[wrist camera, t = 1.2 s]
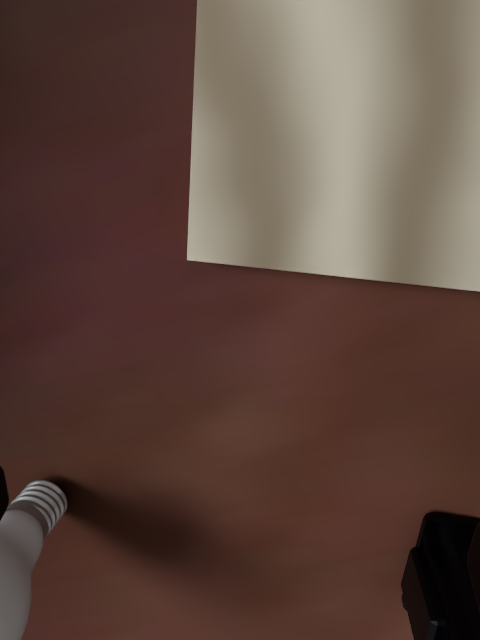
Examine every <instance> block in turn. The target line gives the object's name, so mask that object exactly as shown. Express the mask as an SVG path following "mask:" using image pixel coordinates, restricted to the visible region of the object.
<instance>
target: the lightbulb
mask: <svg viewBox="0 0 480 640" xmlns="http://www.w3.org/2000/svg"><path fill="white" fill-rule="evenodd" d="M66 509H67V498H66V496H65V494H64V492H63V491H62V490H61V489H60V488H59V487H58V486H57V485H55V484H54V483H52V482H49V481H46V480H35V481H33V482H31V483H29V484H28V485H27V486H26V488H25V489H24V490H23V491H22V492H21V493H20V494H19V495H18V496H17V497H16V499H14V500H13V501H12V503H11V504H10V505H9V506H8V507H7V510H6V512H5V514H4V516H3V517H2V519H1V521H0V640H21V639H22V636H23V634H24V631H25V628H26V625H27V622H28V618H29V613H30V608H31V598H32V574H33V570H34V567H35V565H36V563H37V561H38V558H39V556H40V554H41V551H42V547H43V542H44V540H45V539H46V537H47V536H48V534H49V533H50V531H51V530H52V529H53V528H54V526H55V524H56V523H57V522H58V521H59V519H60V518H61V517H62V516H63V514H64V513H65V511H66Z"/></svg>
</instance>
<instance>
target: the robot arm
mask: <svg viewBox="0 0 480 640" xmlns="http://www.w3.org/2000/svg"><path fill="white" fill-rule="evenodd" d="M8 503H9V495H8V490H7V485H6V480H5V475H4V470H3V469H2V467H1V466H0V521H1V519H2V517H3V516H4V514H5V512H6V510H7V507H8ZM433 522H438V523H436V524H431V523H433ZM401 587H402V591H403V595H402V603H403V607H404V609H405V610H407V612H408V616H409V620H410V624H411V629H412V633H413V637H414V640H480V520H479V519H473V518H467V517H461V516H455V515H449V514H443V513H437V512H430V513H427V514H426V515H425V516H424V518H423V521H422V525H421V528H420V532H419V536H418V539H417V543H416V547H413V548H412V549H411V550H410V552H409V556H408V560H407V564H406V567H405V571H404V575H403V579H402V582H401Z"/></svg>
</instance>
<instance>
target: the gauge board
mask: <svg viewBox="0 0 480 640" xmlns="http://www.w3.org/2000/svg"><path fill="white" fill-rule="evenodd" d="M187 260H191V261H201V262H210V263H219V264H229V265H238V266H247V267H257V268H266V269H275V270H284V271H294V272H303V273H312V274H322V275H331V276H340V277H349V278H359V279H368V280H377V281H387V282H396V283H405V284H415V285H424V286H433V287H442V288H452V289H461V290H470V291H480V0H197V22H196V47H195V72H194V97H193V122H192V147H191V172H190V198H189V223H188V248H187Z"/></svg>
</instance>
